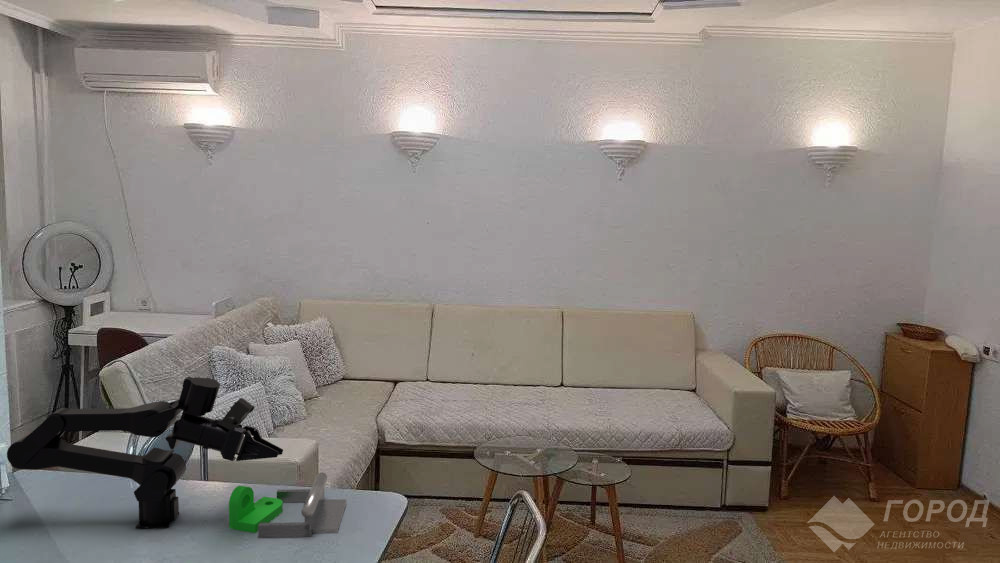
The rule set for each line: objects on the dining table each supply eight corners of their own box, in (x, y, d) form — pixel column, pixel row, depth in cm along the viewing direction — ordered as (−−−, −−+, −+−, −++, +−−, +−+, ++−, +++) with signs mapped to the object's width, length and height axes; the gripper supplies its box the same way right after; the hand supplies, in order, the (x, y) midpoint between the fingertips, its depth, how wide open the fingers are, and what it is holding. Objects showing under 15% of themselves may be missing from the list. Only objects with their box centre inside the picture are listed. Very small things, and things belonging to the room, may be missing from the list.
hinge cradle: (258, 537, 138) (257, 506, 137) (277, 500, 155) (277, 472, 154) (336, 536, 140) (336, 506, 139) (347, 499, 156) (347, 472, 156)
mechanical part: (255, 533, 140) (254, 495, 139) (229, 529, 142) (228, 491, 141) (288, 508, 152) (287, 473, 151) (263, 505, 153) (263, 470, 152)
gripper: (210, 392, 135) (289, 415, 137) (227, 395, 153) (297, 415, 155) (189, 449, 133) (269, 471, 135) (209, 445, 151) (280, 464, 153)
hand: (280, 453), depth 145 cm, fingers open, 9 cm apart
